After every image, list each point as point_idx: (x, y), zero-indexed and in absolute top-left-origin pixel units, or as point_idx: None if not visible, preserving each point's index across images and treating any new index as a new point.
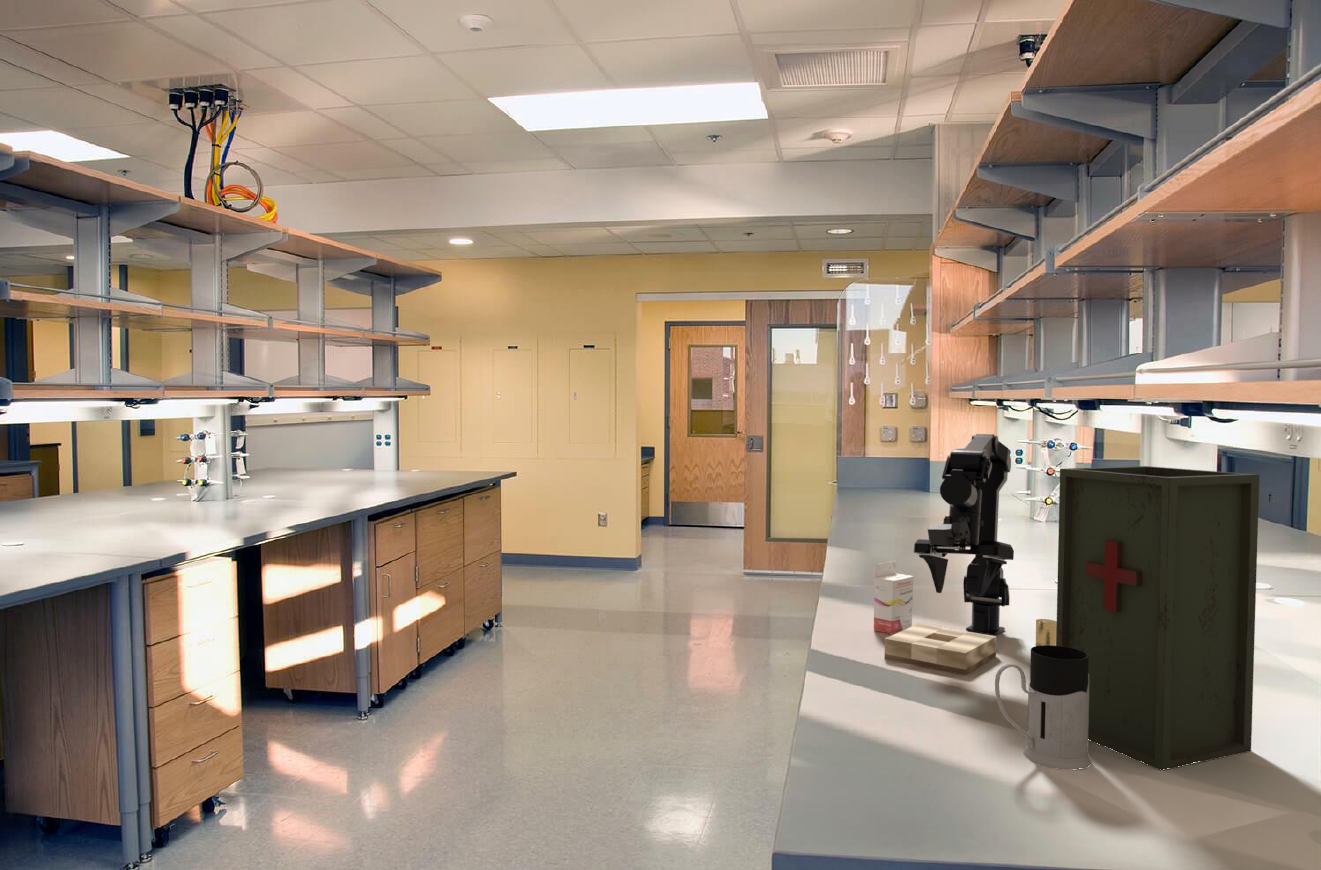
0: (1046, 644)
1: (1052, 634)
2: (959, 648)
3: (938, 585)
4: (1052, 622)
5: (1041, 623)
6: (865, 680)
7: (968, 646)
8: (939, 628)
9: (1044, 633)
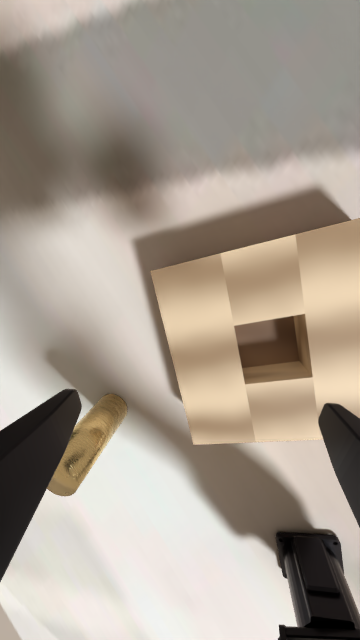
0: (77, 424)
1: None
2: (183, 296)
3: (350, 439)
4: None
5: None
6: (279, 13)
7: (180, 328)
8: None
9: None
